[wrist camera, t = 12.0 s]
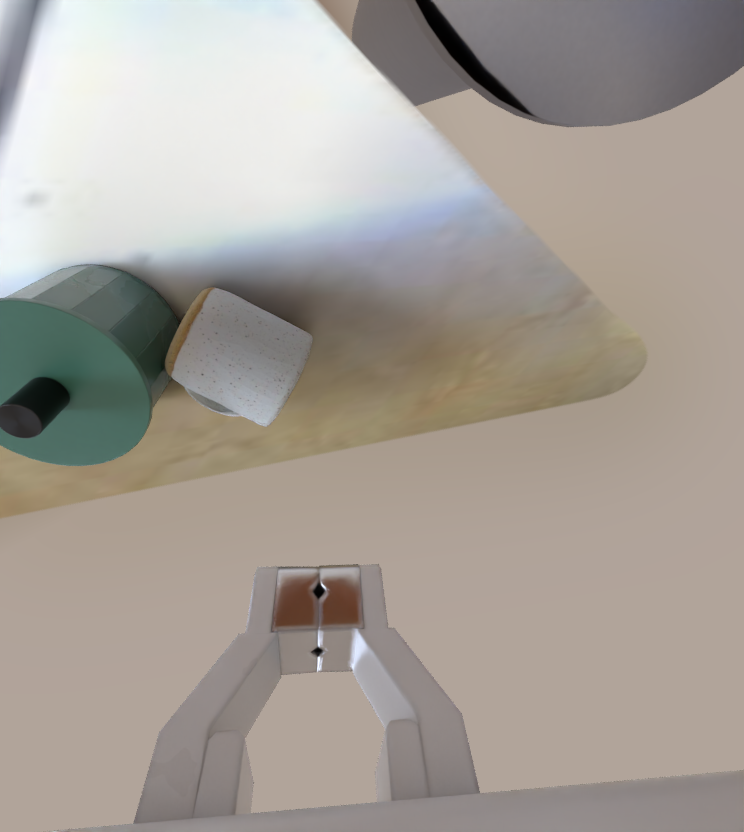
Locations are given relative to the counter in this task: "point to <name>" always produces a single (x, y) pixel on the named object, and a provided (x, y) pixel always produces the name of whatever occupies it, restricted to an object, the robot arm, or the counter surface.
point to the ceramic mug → (237, 356)
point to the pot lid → (67, 387)
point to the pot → (115, 312)
